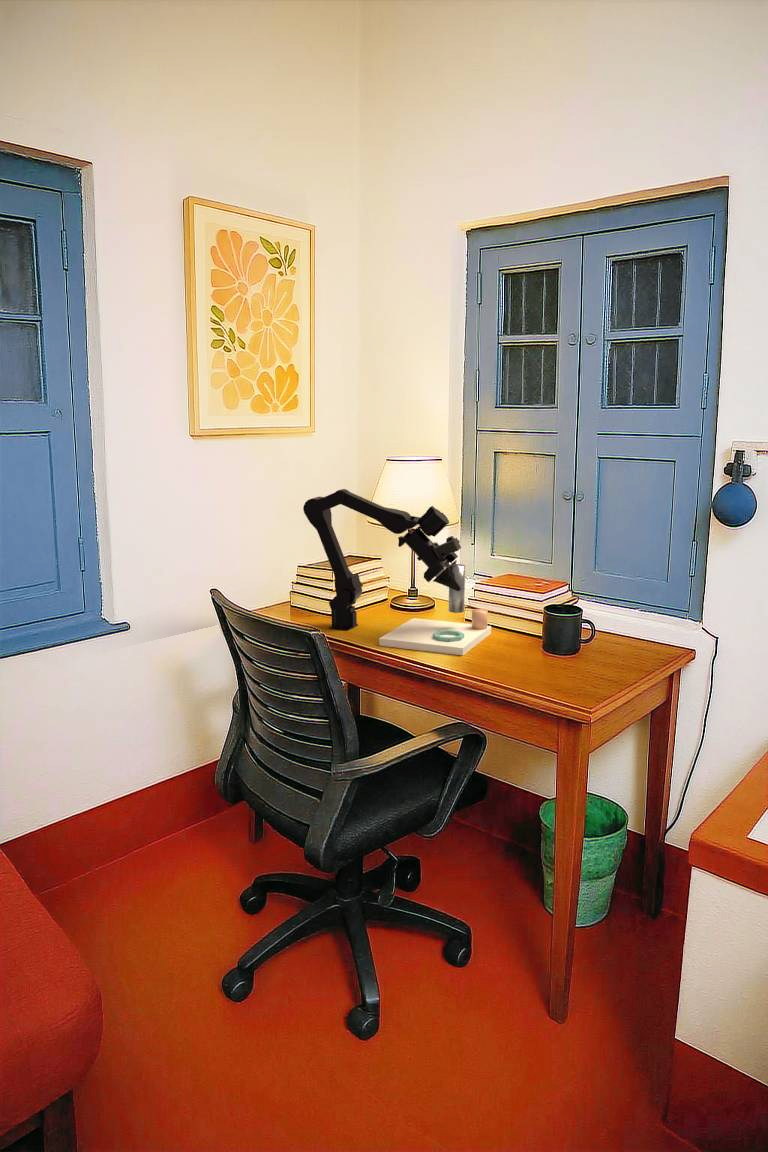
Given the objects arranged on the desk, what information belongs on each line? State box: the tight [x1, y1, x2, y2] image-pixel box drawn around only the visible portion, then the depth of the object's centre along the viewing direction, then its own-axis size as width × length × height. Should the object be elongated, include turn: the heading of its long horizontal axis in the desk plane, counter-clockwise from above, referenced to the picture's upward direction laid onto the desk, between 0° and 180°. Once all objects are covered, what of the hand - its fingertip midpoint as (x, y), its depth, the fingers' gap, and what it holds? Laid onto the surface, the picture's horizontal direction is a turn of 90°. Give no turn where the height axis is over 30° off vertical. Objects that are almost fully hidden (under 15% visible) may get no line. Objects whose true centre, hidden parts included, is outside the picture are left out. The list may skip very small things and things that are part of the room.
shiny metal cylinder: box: [448, 563, 466, 614], centre depth 246 cm, size 4×4×13 cm
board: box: [378, 617, 492, 656], centre depth 244 cm, size 24×24×3 cm
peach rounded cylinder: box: [471, 608, 489, 630], centre depth 247 cm, size 4×4×5 cm
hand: (461, 588), depth 245 cm, fingers closed on shiny metal cylinder, 4 cm apart
